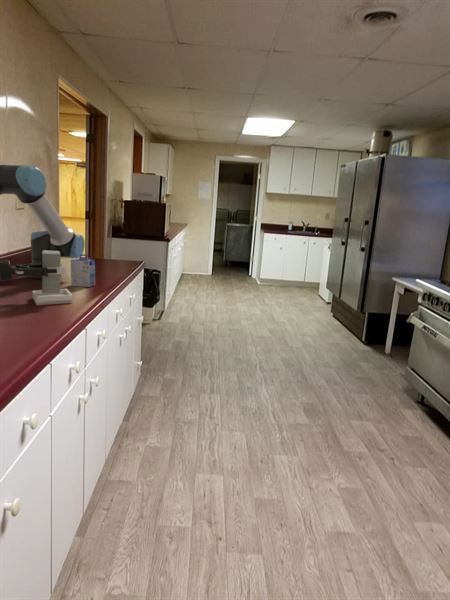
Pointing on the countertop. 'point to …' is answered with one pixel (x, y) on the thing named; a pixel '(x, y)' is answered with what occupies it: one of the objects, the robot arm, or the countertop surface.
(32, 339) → the countertop surface
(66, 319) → the countertop surface
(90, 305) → the countertop surface
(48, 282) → the skincare box
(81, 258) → the ink cartridge box
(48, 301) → the tray
